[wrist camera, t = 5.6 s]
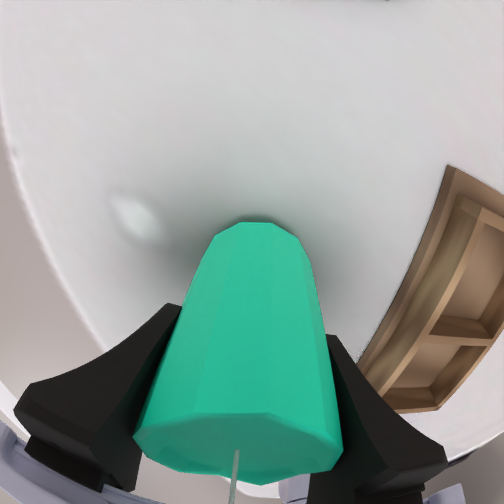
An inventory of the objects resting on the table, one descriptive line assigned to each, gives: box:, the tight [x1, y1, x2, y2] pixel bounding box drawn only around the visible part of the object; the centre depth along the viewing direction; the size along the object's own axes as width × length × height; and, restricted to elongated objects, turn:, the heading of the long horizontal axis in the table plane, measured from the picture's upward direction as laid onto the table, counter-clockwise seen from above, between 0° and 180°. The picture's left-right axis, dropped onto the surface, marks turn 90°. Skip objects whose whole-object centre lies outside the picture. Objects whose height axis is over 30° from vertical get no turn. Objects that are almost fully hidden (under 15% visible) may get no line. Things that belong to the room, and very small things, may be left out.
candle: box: [132, 222, 343, 504], centre depth 10 cm, size 6×6×12 cm
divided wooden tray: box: [357, 165, 504, 414], centre depth 16 cm, size 20×10×4 cm, turn 169°
